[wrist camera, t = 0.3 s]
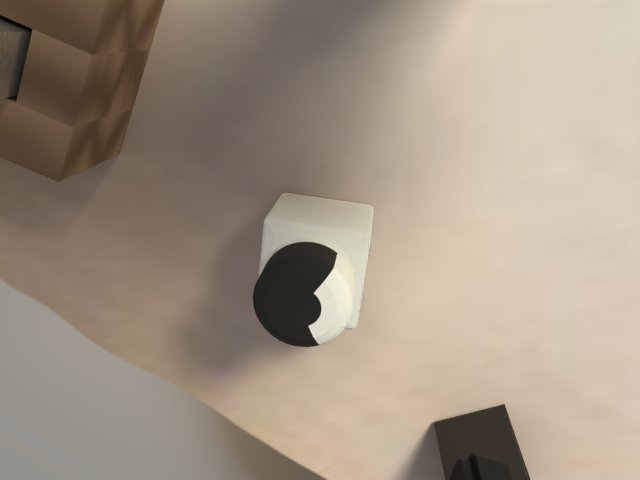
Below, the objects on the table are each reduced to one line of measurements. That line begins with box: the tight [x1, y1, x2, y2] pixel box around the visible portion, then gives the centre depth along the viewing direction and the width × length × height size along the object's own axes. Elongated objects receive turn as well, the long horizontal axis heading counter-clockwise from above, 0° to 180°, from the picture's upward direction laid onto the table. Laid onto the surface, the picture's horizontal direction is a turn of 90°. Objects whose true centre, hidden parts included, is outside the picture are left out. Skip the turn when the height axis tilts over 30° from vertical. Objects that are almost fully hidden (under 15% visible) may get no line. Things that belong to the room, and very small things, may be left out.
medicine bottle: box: [253, 192, 374, 347], centre depth 42 cm, size 7×7×12 cm
